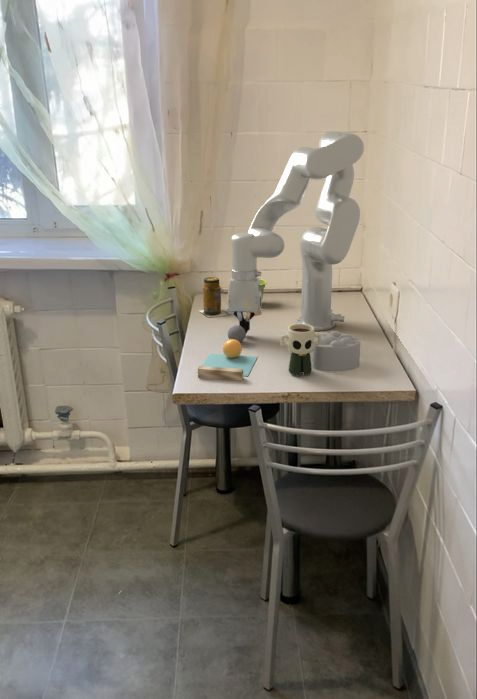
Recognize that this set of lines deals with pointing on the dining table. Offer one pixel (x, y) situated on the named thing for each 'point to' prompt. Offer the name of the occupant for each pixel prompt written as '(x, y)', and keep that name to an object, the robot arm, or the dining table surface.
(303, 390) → the dining table surface
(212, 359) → the teal mark
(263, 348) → the dining table surface
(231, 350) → the orange ball
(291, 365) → the character mug
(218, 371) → the wall
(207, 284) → the condiment
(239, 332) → the gray ball
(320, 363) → the lumpy-topped squat cylinder
